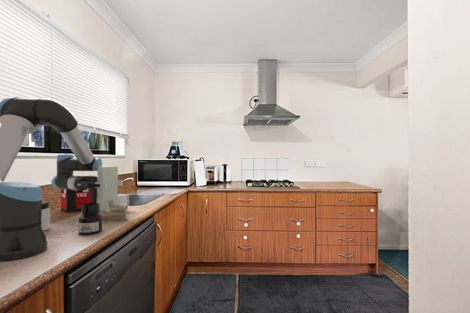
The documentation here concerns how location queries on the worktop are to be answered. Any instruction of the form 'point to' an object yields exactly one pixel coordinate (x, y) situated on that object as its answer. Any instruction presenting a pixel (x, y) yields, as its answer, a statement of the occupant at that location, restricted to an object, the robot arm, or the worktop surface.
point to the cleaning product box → (77, 198)
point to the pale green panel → (108, 187)
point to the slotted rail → (115, 213)
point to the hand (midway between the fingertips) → (114, 184)
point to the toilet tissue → (119, 201)
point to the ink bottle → (90, 219)
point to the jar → (45, 215)
